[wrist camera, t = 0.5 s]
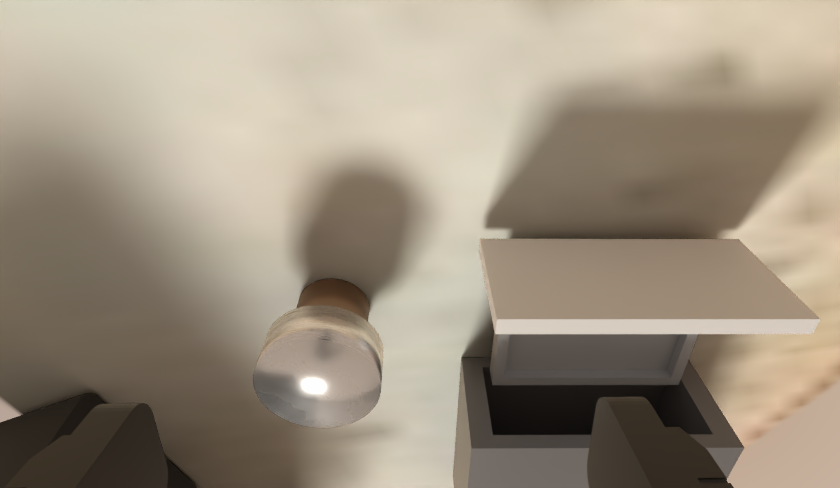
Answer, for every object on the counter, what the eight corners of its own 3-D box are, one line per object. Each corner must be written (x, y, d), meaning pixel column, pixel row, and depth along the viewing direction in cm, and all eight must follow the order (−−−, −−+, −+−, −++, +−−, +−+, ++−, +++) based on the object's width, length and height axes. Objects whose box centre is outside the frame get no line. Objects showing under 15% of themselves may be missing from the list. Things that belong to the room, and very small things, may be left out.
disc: (256, 304, 24) (242, 339, 22) (381, 304, 24) (378, 339, 22) (274, 390, 28) (263, 428, 26) (385, 390, 28) (382, 427, 26)
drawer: (479, 238, 26) (496, 319, 20) (738, 239, 26) (820, 319, 21) (469, 366, 31) (480, 457, 25) (687, 365, 31) (743, 456, 25)
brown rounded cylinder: (294, 278, 28) (280, 320, 25) (367, 278, 28) (362, 320, 25) (303, 333, 30) (290, 377, 27) (370, 333, 30) (365, 377, 27)
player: (461, 357, 31) (471, 448, 26) (687, 357, 31) (744, 447, 26) (453, 475, 38) (459, 567, 32) (640, 474, 38) (678, 566, 32)
